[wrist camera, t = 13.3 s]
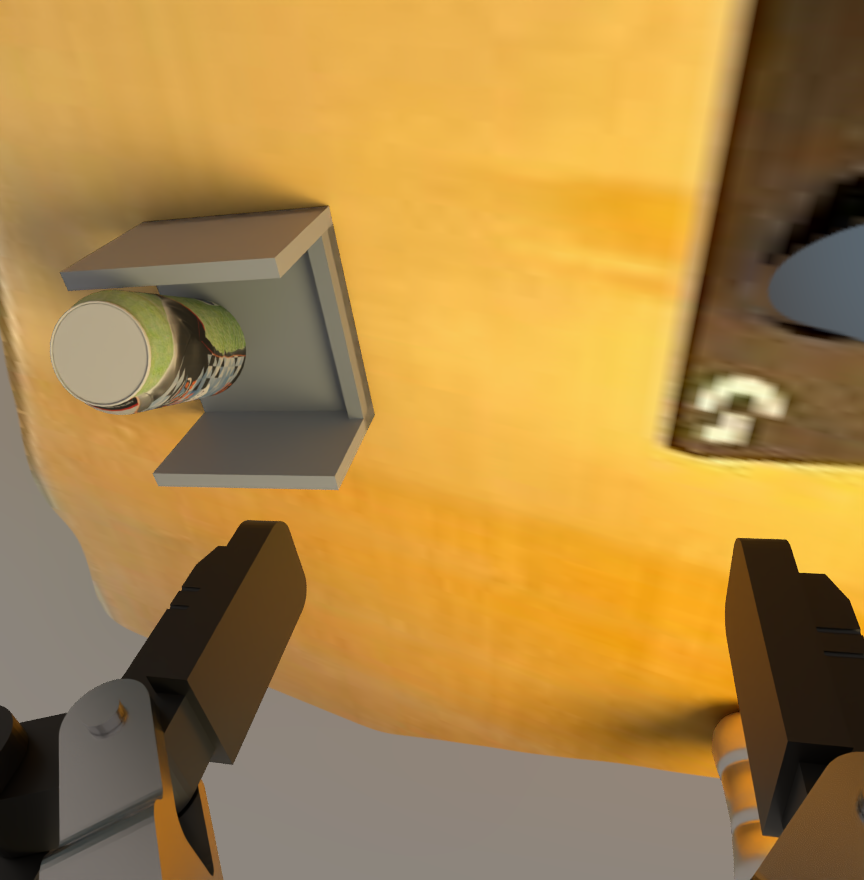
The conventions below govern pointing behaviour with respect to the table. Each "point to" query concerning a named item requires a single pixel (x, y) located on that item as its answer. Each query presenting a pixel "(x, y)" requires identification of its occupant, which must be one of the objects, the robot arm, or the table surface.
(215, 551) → the robot arm
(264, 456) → the holder
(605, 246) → the table surface
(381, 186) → the table surface
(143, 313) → the beverage can
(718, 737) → the plastic bottle
